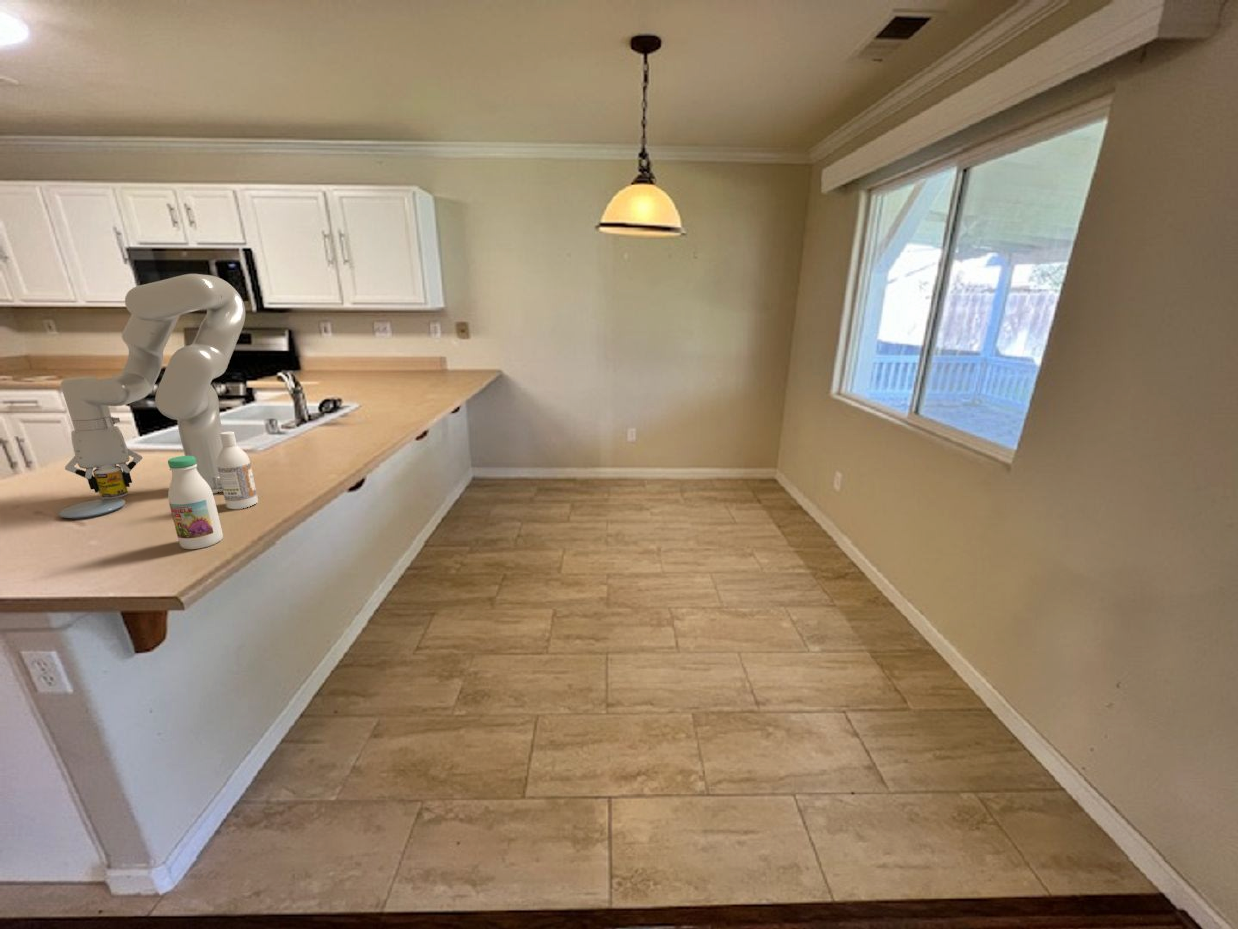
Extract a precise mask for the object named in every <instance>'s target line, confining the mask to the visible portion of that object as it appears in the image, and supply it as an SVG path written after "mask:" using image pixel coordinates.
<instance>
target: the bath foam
mask: <svg viewBox="0 0 1238 929" xmlns="http://www.w3.org/2000/svg"><path fill="white" fill-rule="evenodd" d="M220 436H221V440H222V445H223V448H222V450H221V452H220V454H219V456H218V459H217V467H218V472H219V476H220V480H221V485H222V489H223V492H222V493H223V497H224V501H225V505H226V508H228V509H230V510H242V509H243V508H244V509H247V507H248V508H251V507H253V506H252V505H254V504H256V503H257V504H258V503H259V499H258V497H259V496H258V492H257V489H256V484H255V477H254V474H253V469H252V464H251V460H250V458H249V456H248V454H247V453H246V452H245V451H244V449H242V448H241V447H239V446H238V445H237V444H238V443H237V440H236V436H235V432H234V431H230V430H229V431H223V432H222V433H220ZM257 504H256V505H257ZM250 506H251V507H250ZM254 506H255V505H254Z"/></svg>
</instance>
